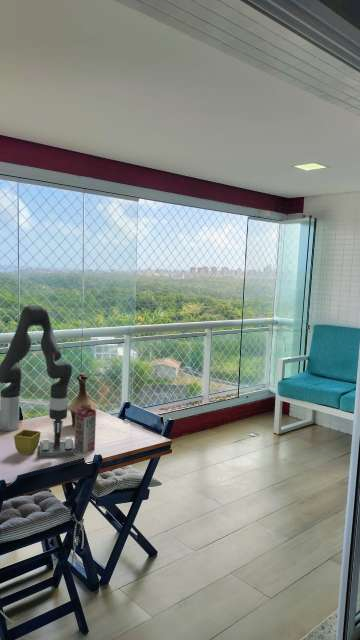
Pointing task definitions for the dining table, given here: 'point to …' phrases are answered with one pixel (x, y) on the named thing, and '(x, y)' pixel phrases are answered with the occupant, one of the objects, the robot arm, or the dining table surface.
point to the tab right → (68, 442)
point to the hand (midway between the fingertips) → (57, 445)
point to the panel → (56, 450)
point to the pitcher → (81, 398)
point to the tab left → (45, 443)
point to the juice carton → (85, 429)
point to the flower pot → (27, 441)
